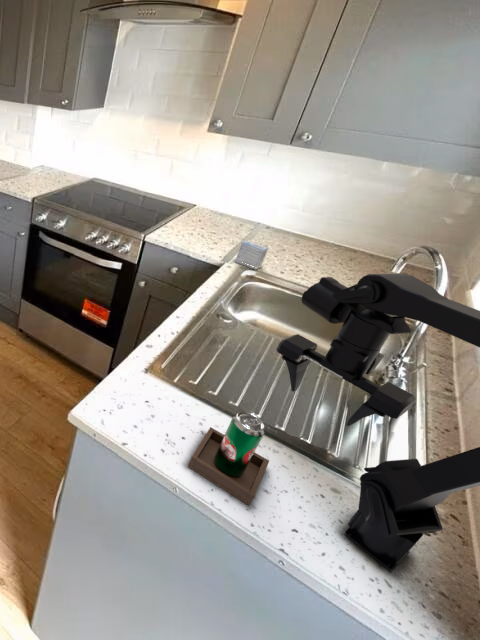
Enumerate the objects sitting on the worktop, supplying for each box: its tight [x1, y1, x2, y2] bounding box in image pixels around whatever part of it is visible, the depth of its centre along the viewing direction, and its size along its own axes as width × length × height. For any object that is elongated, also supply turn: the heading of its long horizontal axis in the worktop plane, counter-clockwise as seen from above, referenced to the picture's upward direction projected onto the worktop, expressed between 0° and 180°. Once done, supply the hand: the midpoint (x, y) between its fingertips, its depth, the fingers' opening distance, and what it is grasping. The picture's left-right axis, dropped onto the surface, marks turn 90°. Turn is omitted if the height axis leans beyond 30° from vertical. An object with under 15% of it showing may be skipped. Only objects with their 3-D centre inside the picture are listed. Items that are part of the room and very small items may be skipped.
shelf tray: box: [187, 426, 270, 506], centre depth 81 cm, size 11×11×3 cm
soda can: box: [214, 411, 265, 476], centre depth 79 cm, size 5×5×12 cm
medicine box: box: [234, 239, 269, 271], centre depth 163 cm, size 8×4×9 cm, turn 34°
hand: (320, 407), depth 80 cm, fingers open, 9 cm apart
